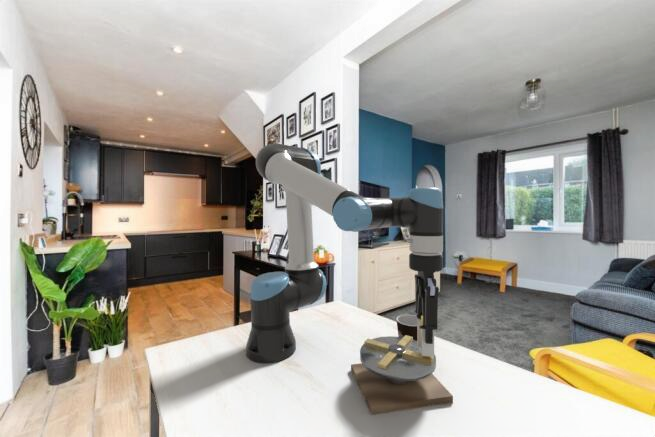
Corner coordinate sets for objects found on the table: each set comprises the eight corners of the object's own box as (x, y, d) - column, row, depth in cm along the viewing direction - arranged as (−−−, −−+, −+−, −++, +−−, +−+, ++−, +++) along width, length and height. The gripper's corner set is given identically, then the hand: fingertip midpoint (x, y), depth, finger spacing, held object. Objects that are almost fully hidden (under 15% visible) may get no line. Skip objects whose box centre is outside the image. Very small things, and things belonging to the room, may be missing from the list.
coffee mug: (428, 361, 81) (428, 327, 80) (397, 359, 83) (396, 325, 82) (423, 342, 92) (423, 312, 92) (395, 340, 94) (395, 310, 94)
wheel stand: (351, 369, 77) (350, 348, 77) (416, 362, 81) (416, 341, 80) (371, 414, 61) (371, 386, 60) (452, 402, 64) (452, 376, 64)
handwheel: (421, 391, 58) (421, 335, 57) (346, 364, 68) (345, 316, 68) (444, 353, 72) (444, 309, 72) (379, 336, 83) (379, 296, 83)
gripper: (403, 248, 77) (403, 335, 77) (416, 258, 60) (416, 369, 60) (432, 248, 76) (432, 336, 76) (454, 259, 59) (453, 371, 60)
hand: (425, 350), depth 68 cm, fingers open, 4 cm apart
